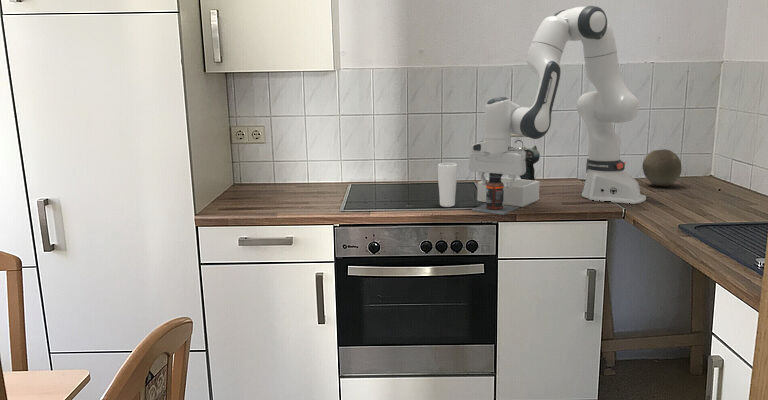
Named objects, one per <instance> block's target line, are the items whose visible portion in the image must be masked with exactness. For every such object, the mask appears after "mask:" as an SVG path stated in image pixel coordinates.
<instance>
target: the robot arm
mask: <svg viewBox="0 0 768 400" xmlns="http://www.w3.org/2000/svg"><path fill="white" fill-rule="evenodd" d="M569 41H571V42H576V41H577V42H578V41H580V42H581V43H582V47H583V57H584V65H585V73H586V77H587V79H588V81H589V82H590V83H591V84H592V85H593V86H594V87H595V89H596V90H593V91H589V92H585V93H583V94H582V95H580V97H578V100H577V103H576V110H577V113H578V115H579V116H580V117H581V118H582V120H583V121H584V125H585V128H586V131H587V135H588V151H587V152H588V154H587V156H588V157H587V159H586V163H585V165H586V166H585V172H586V176H585V177H586V178H585V182H584V187H583V189H582V193H581V197H583V198H585V199H588V200H590V201H592V200H594V202H604V201H611V202H610V203H618V204H620V203H621V204H629V203H630V204H632V205H635V204H641V203H643V202H645V201H646V200H647V197H646V196H647V195H644V194H641V187H640V184H639V181H637V180H636V179H635V177H633V176H632V175H631V174H629V172H627V171H626V170H625V168H626V167H625V166H626V163H627V162H626V161H623V160H622V159H620V157H621V147H622V146H621V144H622V140H621V137H620V135H619V134H618V133H617V132H616V131H615V129H614V125H613V123H616V124H621V123H628V122H631V121H633V120H634V119H635V118H636V117H637V116H638V113H639V112H640V102H639V99H638V98H637V97H636V96H635V95H634V94H633V93H632V92H631V91H630V89H628V87H627V85H626V83H625V81H624V79H623V76H622V75H621V74H622V73H621V71H620V66H619V58H618V50H617V49H618V48H617V44H616V39H615V35H614V32H613V29H612V27H611V25H610V23H608V18H607V15H606V13H605V11H604V9H602V8H601V7H599V6H594V5H587V6H576V7H573V8H568V9H563V10H560V11H558V12H556V13H555V14H554V15H550V16H547V17H545V18H544V19H543V20H542V22H541V23H540V24H539V26H538V28H537V29H536V32H535V33H534V36H533V38H532V41H531V44H529V45H530V46H529V48H528V51H527V54H526V63H527V65H528V68H529V69H530V70H531V71H532V72H533V74H536V75H537V77H538V79H539V82H538V83H539V84H538V87H537V92H536V95H535V99H534V101H533V104H532V105H531V106H530V107H527V106H521V105H519V104H517V103H515V102H513V101H512V100H511V99H509V97H506V96H505V97H504V96H501V97H495V98H491V99H489V100H488V101H487V102H486V104H485V106H484V107H485V108H484V115H483V116H484V118H483V120H484V121H483V124H484V126H483V127H484V131H485V132H484V135H483V141H482V140H481V141H479V142H478V143H474V144H473V143H472V145H471V146H470V150H471V152H470V153H469V157H468V169H469V170H470V171H471V172H477V173H478V176H479V179H480V181H481V184H482V185H487V181H488V180H487V179H488V178H487V179H486V177H485V174H486V173H488V174H489V173H496V174H503V175H507V176H508V178H511V179H510V181H509V182H506V187H507V188H512V182H513V181H514V179H517V178H516V176H519V177H520V176H521V175H524V174H525V172H526V162H525V158H526V152H525V151H524V150H523V149H524V148H523V149H522V147H514V146H511V135H518V136H523V137H527V138H530V139H532V140H537V139H541V138H543V137H544V136H545V135H546V134H548V132H549V130H550V128H551V123H552V112H553V107H554V102H555V99H556V95H557V91H558V88H559V84H560V80H561V79H560V78H561V66H560V64H561V59H562V55H563V53H564V50H565V47H566V44H567V42H569ZM599 200H600V201H599ZM630 204H629V205H630Z"/></svg>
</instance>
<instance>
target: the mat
mask: <svg viewBox="0 0 768 400" xmlns="http://www.w3.org/2000/svg"><path fill="white" fill-rule="evenodd" d="M519 209H520V206H512V205H505V204H503V208H502V209H499V210H491V209H488V208H486V203H485V204H482V205H480V206H477V207H475V208H472V209H471V210H472V211H471V212H478V213H485V214H493V215H498V216H504V215H507V214H509V213H512V212H515V211H517V210H519Z"/></svg>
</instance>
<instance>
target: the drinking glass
mask: <svg viewBox="0 0 768 400" xmlns="http://www.w3.org/2000/svg"><path fill="white" fill-rule="evenodd" d="M457 180H458V164H457V163H454V162H442V163H438V165H437V183H438V192H439V205H440V206H441V207H443V208H451V207H454V206H455V204H456V190H457V182H458V181H457Z"/></svg>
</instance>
